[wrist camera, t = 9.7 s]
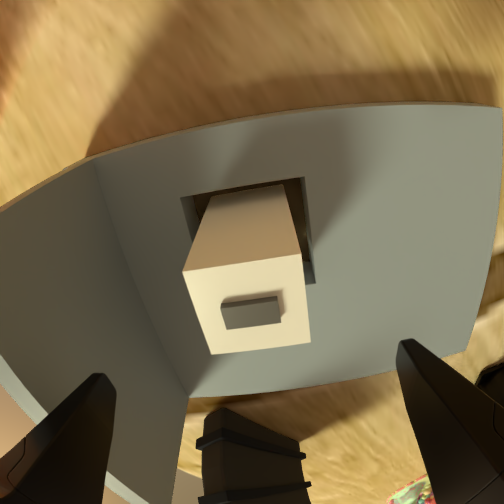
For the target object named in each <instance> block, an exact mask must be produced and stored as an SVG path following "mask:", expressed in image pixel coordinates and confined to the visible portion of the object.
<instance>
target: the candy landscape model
mask: <svg viewBox="0 0 504 504" xmlns="http://www.w3.org/2000/svg"><path fill="white" fill-rule="evenodd" d="M387 503H389V504H436V502H435V499H434V495H433V491H432V488H431V484H430V481H429V478H428V474H426V475H423V476H421V477H420V478H418V479H416V480H415V481H413V482H411V483H409V484H407V485H406V486H404V487H402V488H400V489H398V490H397V491H396V492H394V493H393V494H391V495H390V496H389V497H388V499H387Z"/></svg>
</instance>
